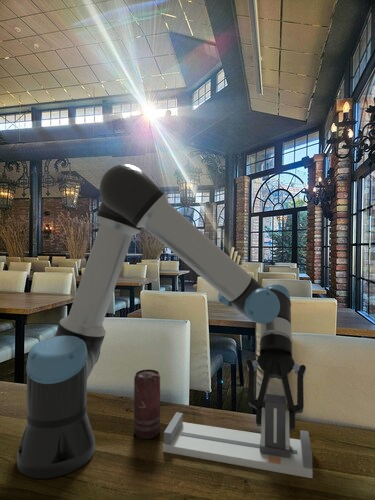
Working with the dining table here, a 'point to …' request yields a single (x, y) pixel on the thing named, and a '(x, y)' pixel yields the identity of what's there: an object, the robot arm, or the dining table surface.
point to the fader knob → (275, 426)
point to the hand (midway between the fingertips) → (275, 445)
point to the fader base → (235, 447)
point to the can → (147, 404)
